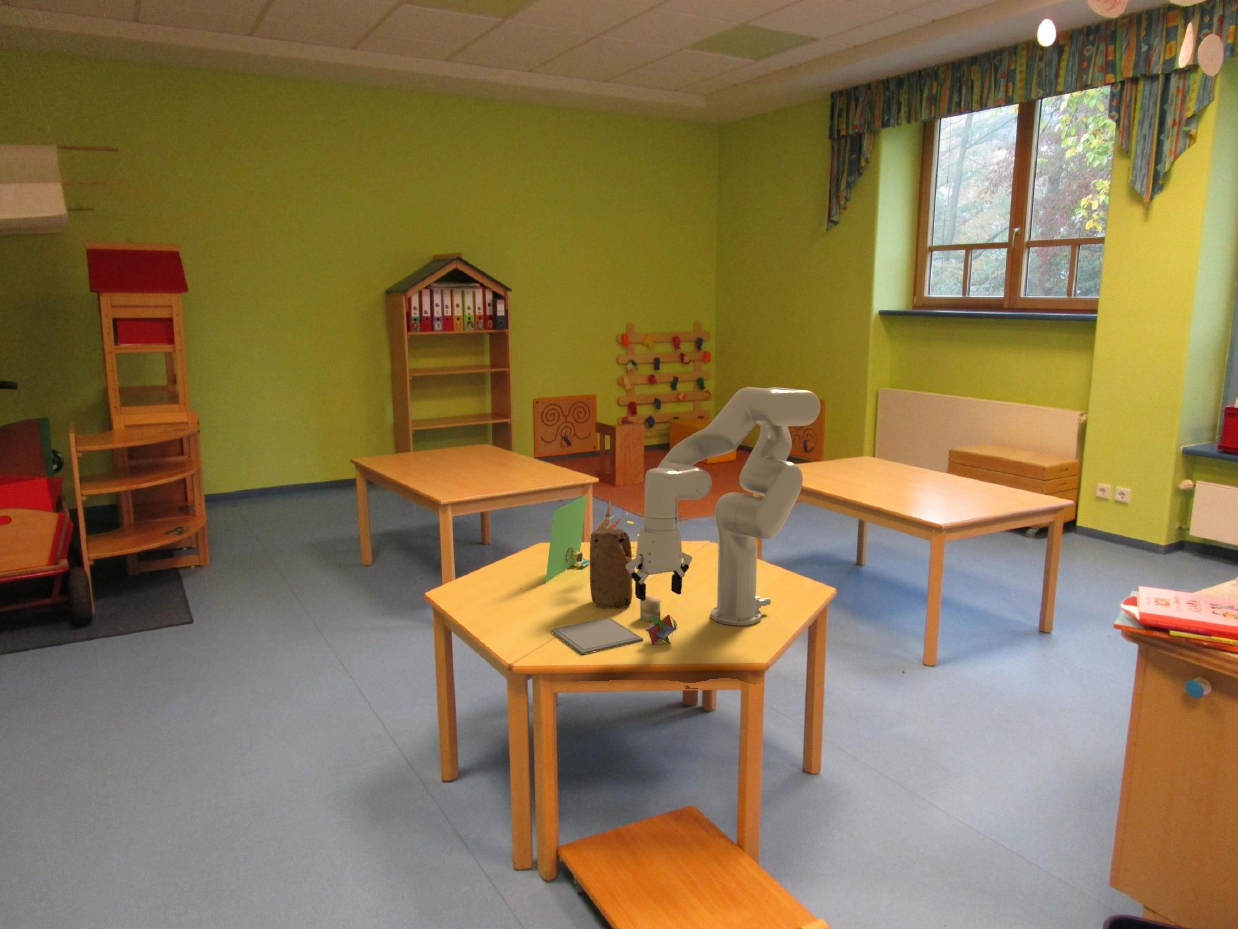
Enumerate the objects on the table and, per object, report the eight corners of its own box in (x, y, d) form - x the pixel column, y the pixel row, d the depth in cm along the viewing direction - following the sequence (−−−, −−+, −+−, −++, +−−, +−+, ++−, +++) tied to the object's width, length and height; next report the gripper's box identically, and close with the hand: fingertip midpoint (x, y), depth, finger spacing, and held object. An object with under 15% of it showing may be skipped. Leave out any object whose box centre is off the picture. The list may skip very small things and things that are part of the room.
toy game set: (625, 607, 237) (636, 523, 232) (543, 583, 246) (552, 502, 240) (653, 583, 257) (665, 505, 251) (577, 562, 266) (586, 486, 260)
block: (588, 607, 227) (587, 532, 223) (595, 597, 234) (594, 525, 230) (629, 610, 225) (629, 535, 221) (635, 600, 232) (635, 527, 228)
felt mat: (608, 619, 219) (608, 616, 219) (642, 640, 205) (642, 637, 205) (550, 631, 211) (550, 628, 211) (582, 654, 197) (582, 652, 197)
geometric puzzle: (652, 644, 198) (668, 612, 199) (633, 634, 203) (650, 603, 205) (671, 655, 202) (687, 624, 204) (652, 646, 208) (669, 616, 209)
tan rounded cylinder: (653, 613, 222) (653, 595, 221) (664, 620, 218) (664, 600, 217) (636, 617, 220) (636, 598, 219) (647, 623, 216) (647, 604, 215)
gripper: (683, 515, 206) (680, 586, 209) (619, 523, 197) (617, 596, 200) (701, 522, 200) (699, 595, 203) (636, 531, 191) (634, 606, 194)
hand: (658, 595), depth 201 cm, fingers open, 9 cm apart
